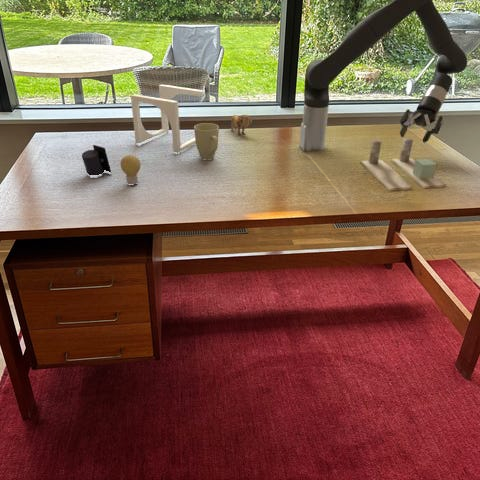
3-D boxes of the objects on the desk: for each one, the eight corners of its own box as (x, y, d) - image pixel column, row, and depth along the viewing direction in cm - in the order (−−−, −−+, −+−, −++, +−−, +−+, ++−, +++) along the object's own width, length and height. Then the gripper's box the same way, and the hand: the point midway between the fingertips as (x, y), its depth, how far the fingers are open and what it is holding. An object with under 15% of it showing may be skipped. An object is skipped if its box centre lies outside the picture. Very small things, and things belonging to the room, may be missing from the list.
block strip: (423, 188, 160) (428, 163, 156) (391, 161, 181) (395, 138, 176) (445, 186, 162) (451, 161, 157) (411, 159, 182) (415, 137, 178)
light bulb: (145, 181, 165) (143, 153, 160) (136, 189, 160) (133, 160, 154) (129, 179, 166) (126, 151, 161) (119, 186, 161) (115, 158, 156)
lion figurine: (253, 135, 206) (253, 114, 202) (242, 138, 204) (243, 117, 199) (233, 126, 217) (233, 106, 212) (223, 128, 214) (223, 108, 209)
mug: (190, 161, 181) (188, 129, 175) (201, 152, 189) (200, 121, 183) (216, 165, 178) (216, 133, 172) (227, 156, 186) (227, 125, 180)
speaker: (105, 168, 173) (98, 142, 167) (112, 174, 170) (106, 147, 163) (84, 175, 170) (77, 148, 164) (91, 182, 166) (84, 154, 160)
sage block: (419, 178, 165) (422, 165, 162) (412, 173, 169) (415, 159, 167) (433, 178, 166) (436, 164, 163) (426, 172, 170) (429, 158, 167)
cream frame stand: (165, 131, 210) (161, 84, 200) (205, 139, 202) (203, 90, 192) (135, 146, 195) (130, 95, 184) (177, 154, 187) (174, 102, 176)
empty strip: (389, 190, 159) (393, 165, 154) (360, 163, 179) (364, 139, 174) (412, 189, 160) (417, 163, 155) (381, 161, 180) (385, 138, 176)
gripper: (412, 91, 181) (392, 129, 179) (450, 98, 173) (430, 138, 171) (415, 103, 187) (396, 139, 185) (452, 110, 179) (433, 148, 177)
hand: (412, 138), depth 178 cm, fingers open, 8 cm apart
